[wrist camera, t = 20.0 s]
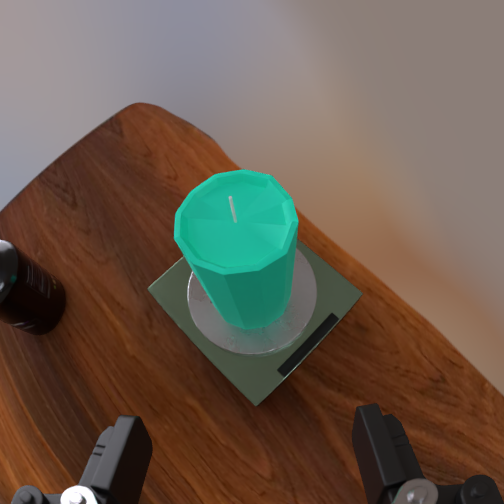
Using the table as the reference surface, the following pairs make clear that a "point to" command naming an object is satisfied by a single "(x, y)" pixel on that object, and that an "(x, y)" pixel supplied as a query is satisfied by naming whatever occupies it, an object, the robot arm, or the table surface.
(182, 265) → the scale
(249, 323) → the candle
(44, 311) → the supplement bottle
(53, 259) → the table surface
